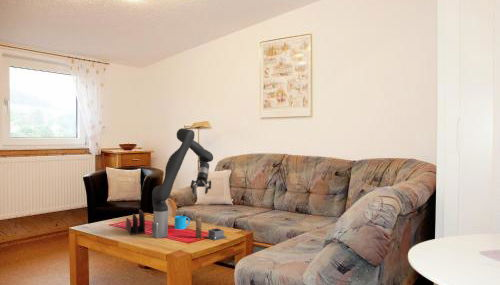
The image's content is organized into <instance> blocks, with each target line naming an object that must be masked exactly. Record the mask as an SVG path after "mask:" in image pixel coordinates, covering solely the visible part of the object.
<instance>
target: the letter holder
mask: <svg viewBox="0 0 500 285" xmlns="http://www.w3.org/2000/svg"><path fill="white" fill-rule="evenodd" d="M125 220H126V222H125V229H126V231H127V233H128V234H129V235H130V236H134V235H144V234H146V220H145V213H144V211H143V210H142V209H138V217H137V215H136V214H135V213H133V214H132V222H131V220H130V219H129V217H126V218H125Z"/></svg>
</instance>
